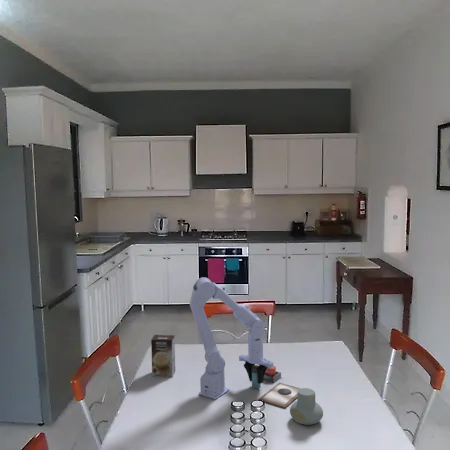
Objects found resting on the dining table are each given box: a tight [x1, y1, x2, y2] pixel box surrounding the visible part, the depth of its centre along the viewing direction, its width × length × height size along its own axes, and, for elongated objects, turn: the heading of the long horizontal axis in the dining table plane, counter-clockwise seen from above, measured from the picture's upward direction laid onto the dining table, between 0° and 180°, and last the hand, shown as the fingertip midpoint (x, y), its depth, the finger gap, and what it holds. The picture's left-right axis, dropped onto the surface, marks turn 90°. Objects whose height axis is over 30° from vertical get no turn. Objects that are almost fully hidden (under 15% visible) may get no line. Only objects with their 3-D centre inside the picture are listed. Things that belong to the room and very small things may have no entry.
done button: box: [266, 365, 277, 377], centre depth 180 cm, size 4×4×3 cm
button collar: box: [263, 370, 282, 383], centre depth 180 cm, size 6×6×2 cm
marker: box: [251, 364, 262, 390], centre depth 172 cm, size 4×4×8 cm
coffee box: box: [150, 334, 176, 378], centre depth 185 cm, size 9×6×16 cm
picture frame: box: [258, 382, 302, 409], centre depth 165 cm, size 16×11×1 cm
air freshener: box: [289, 387, 324, 426], centre depth 147 cm, size 11×8×10 cm
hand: (256, 381), depth 172 cm, fingers closed on marker, 3 cm apart
